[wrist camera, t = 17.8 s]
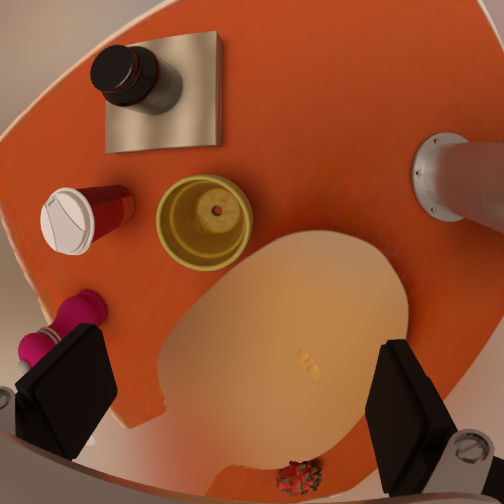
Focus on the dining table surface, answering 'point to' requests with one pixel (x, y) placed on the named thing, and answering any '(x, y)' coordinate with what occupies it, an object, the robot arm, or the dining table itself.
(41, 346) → the pepper mill
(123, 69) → the supplement bottle
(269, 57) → the dining table surface
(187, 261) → the plant pot
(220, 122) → the beech block
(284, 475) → the dragon fruit
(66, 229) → the paper cup
